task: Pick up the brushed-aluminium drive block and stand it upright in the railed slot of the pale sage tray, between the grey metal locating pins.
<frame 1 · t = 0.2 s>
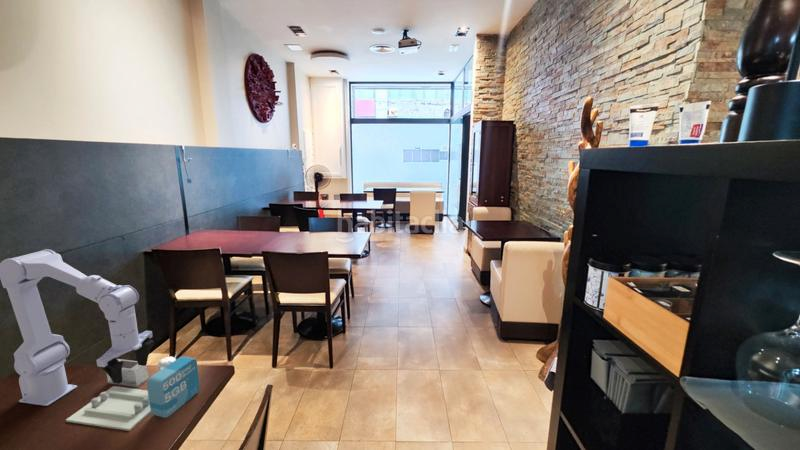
hand: (130, 373, 92), 10 cm above the table, tool pointing down, fingers open, 7 cm apart
dock tray: (121, 407, 92), on the table
milkshake: (171, 384, 102), on the table
data package: (177, 403, 94), on the table
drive: (128, 381, 102), on the table
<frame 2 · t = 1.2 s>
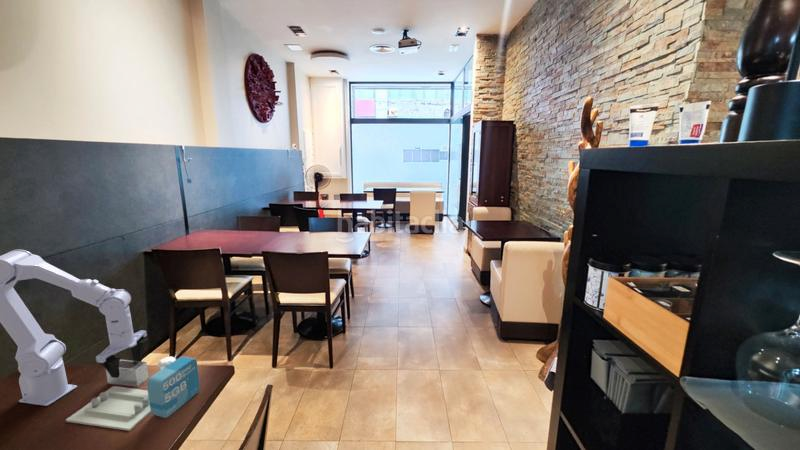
hand: (127, 368, 101), 4 cm above the table, tool pointing down, fingers open, 7 cm apart
nothing on the table moved.
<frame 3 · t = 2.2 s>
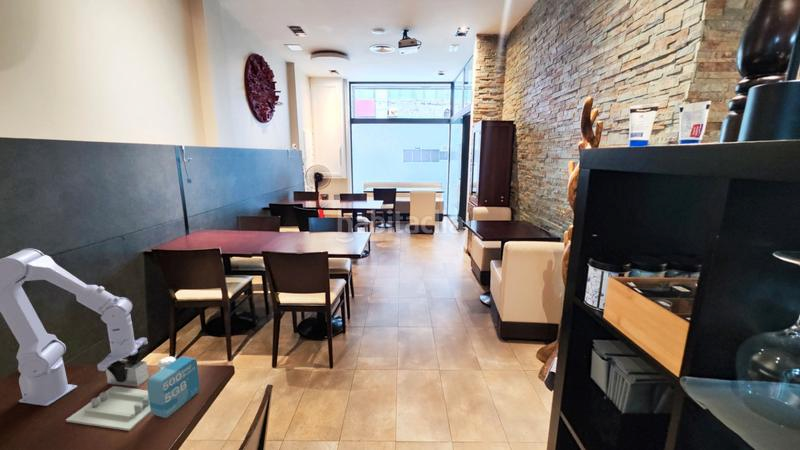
hand: (127, 376, 102), 2 cm above the table, tool pointing down, fingers closed on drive, 4 cm apart
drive: (128, 380, 102), on the table, touching gripper
everything else where it was.
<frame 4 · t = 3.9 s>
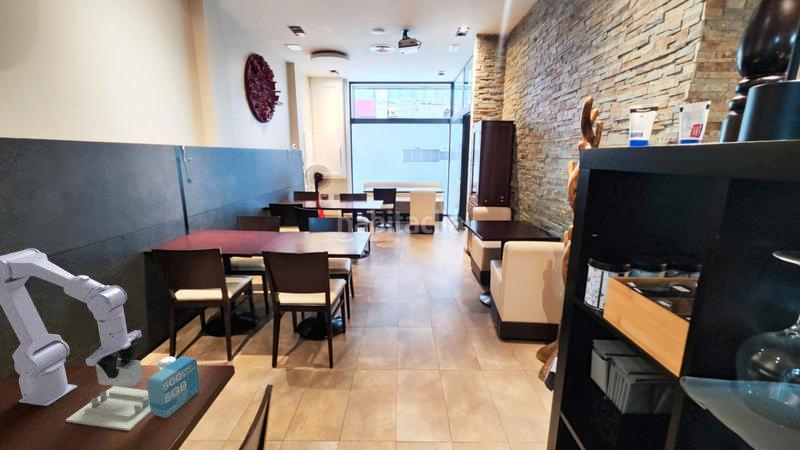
hand: (120, 372, 94), 9 cm above the table, tool pointing down, fingers closed on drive, 4 cm apart
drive: (121, 381, 94), point 6 cm above the table, touching gripper
everything else where it was.
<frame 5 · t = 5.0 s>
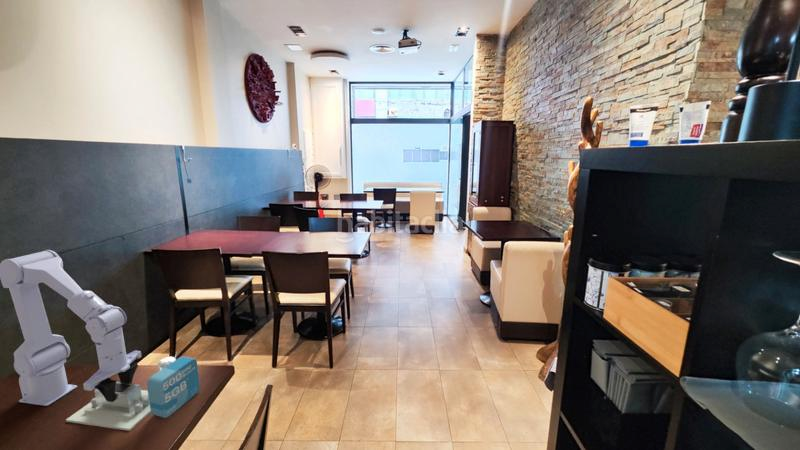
hand: (119, 394, 91), 4 cm above the table, tool pointing down, fingers closed on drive, 4 cm apart
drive: (120, 405, 92), point 1 cm above the table, touching dock tray, gripper
everything else where it was.
when the fingers open (3 cm above the table, at t = 5.6 s): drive stays where it is, resting on dock tray.
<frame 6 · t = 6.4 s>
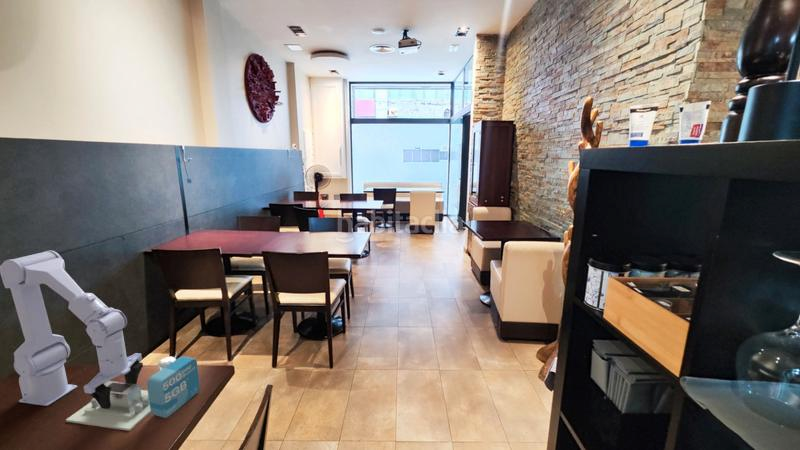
hand: (119, 397, 91), 3 cm above the table, tool pointing down, fingers open, 7 cm apart
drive: (120, 405, 92), point 1 cm above the table, touching dock tray
everything else where it was.
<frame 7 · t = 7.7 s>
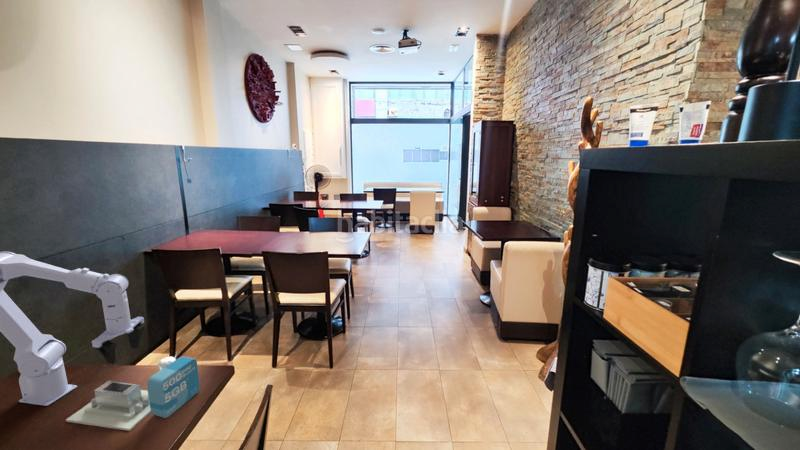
hand: (123, 354, 100), 9 cm above the table, tool pointing down, fingers open, 7 cm apart
nothing on the table moved.
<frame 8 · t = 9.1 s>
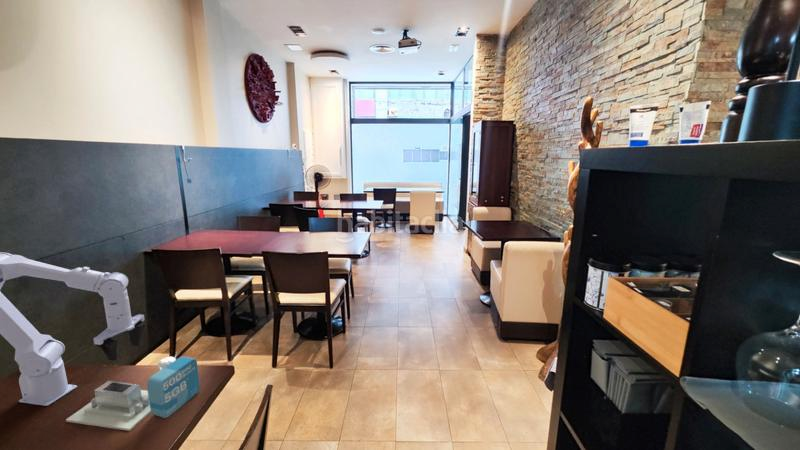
hand: (124, 352, 101), 9 cm above the table, tool pointing down, fingers open, 7 cm apart
nothing on the table moved.
at the end: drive 0.1 cm off-centre on the dock tray, point 0.6 cm above the dock tray's base; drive tilted 0°; the gripper is holding nothing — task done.
